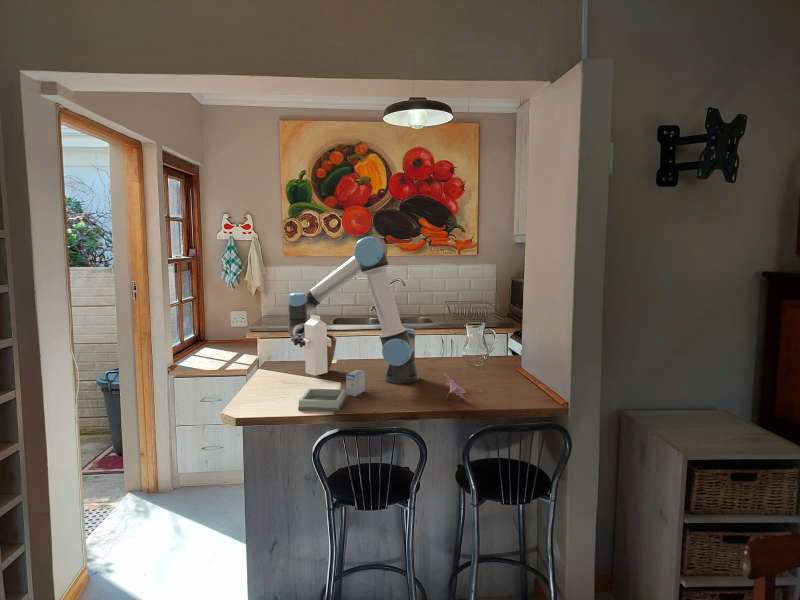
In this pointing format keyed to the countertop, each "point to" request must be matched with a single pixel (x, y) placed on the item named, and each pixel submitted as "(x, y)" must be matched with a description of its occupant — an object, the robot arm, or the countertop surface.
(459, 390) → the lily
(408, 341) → the robot arm
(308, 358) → the milk
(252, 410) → the countertop surface
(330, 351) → the plant pot
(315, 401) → the carton holder
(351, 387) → the medicine box
